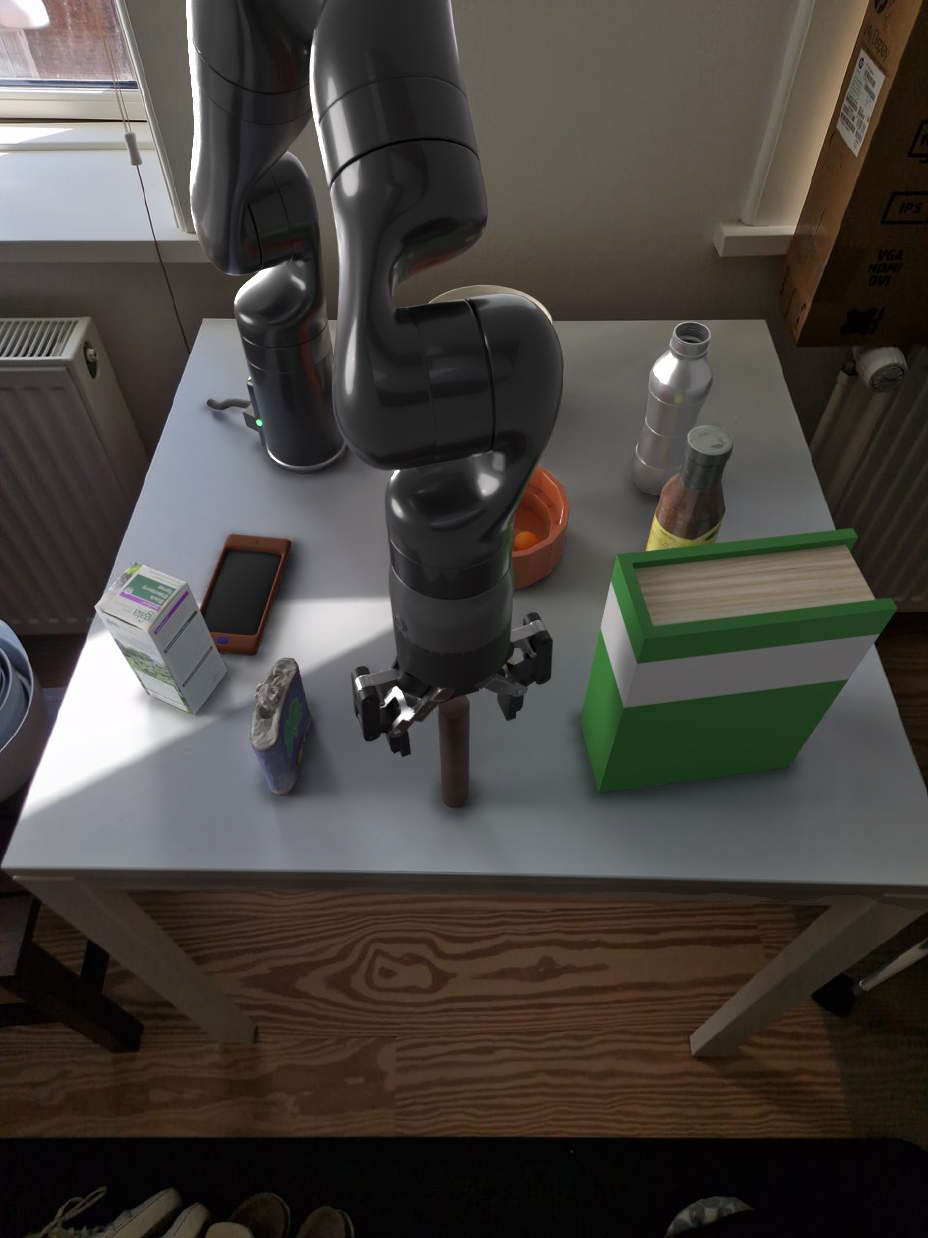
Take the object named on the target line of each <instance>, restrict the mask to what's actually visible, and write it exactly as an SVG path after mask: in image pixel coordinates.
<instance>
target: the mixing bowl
mask: <svg viewBox="0 0 928 1238" xmlns="http://www.w3.org/2000/svg"><path fill="white" fill-rule="evenodd" d="M570 509H571V504H570V500H569V497H568V495H567V492H566V489H565V487H564V485H563V484H562V483H561V482H560V481H559V480H558V479H557V478H556V476H554V475H553V474H552V473H551V472H550V471H549V470H548V469H547V468H544V467H542V466H540V465H539V464H538V465H537V467H536V469H535V471H534V473H533V475H532V477H531V479H530V481H529V484H528V486H527V488H526V490H525V492H524V495H523V497H522V499H521V502H520V504H519V506H518V508H517V510H516V512H515V520H514V529H513V544H512V561H513V567H514V583H515V590H516V589H523V588H526V587H528V586H530V585H532V584H534V583H536V582H538V581H540V580H542V579H544V578H545V577H547V576H549V575H550V573H551V572H552V571H553V570H554V568H555V567H556V566H557V565H558V564H559V562H560V561H561V560H562V558H563V554H564V549H565V543H566V537H567V530H568V524H569V518H570V512H571V511H570ZM524 531H528V532H531V533H533V534H534V535H535V536H536V537H537V539H538V544H537V545H535V546H533V547H531V548H529V549H527V550H522V551H516V550H515V548H514V539H515V537H516V536H517V535H518V534H519V533H521V532H524Z"/></svg>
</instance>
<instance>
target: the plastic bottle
mask: <svg viewBox="0 0 928 1238" xmlns="http://www.w3.org/2000/svg"><path fill="white" fill-rule="evenodd" d="M711 335H712V334H711V330H710V329H709V328H708V327H707V326H706V325H705V324H702V323H700V322H697V321H684V322H680V323H678V324H677V325H675V327H674V329H673V332H672V337H671V338H670V339H669V340H670V341H669V344H668V350H665V351H664V352H663V353H662V354H661V355H660V356H659V357H657V359H656V360H655V362H654V363H653V366H652V367H651V368H650V371H649V377H648V391H647V406H646V412H645V418H644V423H643V427H642V430H641V433H640V436H639V440H638V442H637V444H636V446H635V448H634V449H633V452H632V455H631V457H630V461H629V466H630V468H629V470H630V471H629V476H630V479H631V481H632V482H633V483H634V485H635V486H636V487H637V488H638V490H640V491H642V492H643V493H645V494H648V495H652V496H660V495H661V492H662V490H663V487H664V486H665V484H666V483H667V482H668V480H670V478H672V477H673V476H674V475H676V474H677V473H679V468H680V466H681V465H682V462H683V458H684V455H685V452H684V445H685V442H686V439H687V436H688V433H689V432H690V431H691V430H692V429H693V428H695V426H696V423H697V420H698V418H699V415H700V413H701V410H702V408H703V406H704V404H705V401H706V400H707V397H708V396H709V394H710V391H711V388H712V387H713V381H714V380H713V379H714V377H713V376H714V375H713V368H712V366H711V364H710V361H709V359H708V357H707V355H708V352H709V347H710V345H709V344H710V341H711Z"/></svg>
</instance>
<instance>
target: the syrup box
mask: <svg viewBox="0 0 928 1238" xmlns="http://www.w3.org/2000/svg"><path fill="white" fill-rule="evenodd" d="M94 608H95V612H96V613H97V614H98V616H99V617H100V619H101V621H102V622H103V625H104V626H105V628H106V629H107V631H108V633H109V634H110V636H111V637H112V639H113V640H114V642H115V644H116V646H117V647H118V649H119V650H120V652H121V653H122V655H123V657H124V659H125V661H126V662H127V664H128V665H129V667H130V668H131V670H132V672H133V673H134V675H135V676H136V678H137V680H138V681H139V684H141V687H142V688H143V690H144V691H145V693H146V695H148V696H149V697H152V698H154V699H156V700H159V701H161V702H163V703H165V704H167V705H170V706H172V707H174V708H176V709H179V710H181V711H183V712H186V713H188V714H189V715H192V716H194V715H196V714H197V713H198V712H199V710H200V709H201V708H202V706H204V704H205V702H206V701H207V700H208V698H209V697H210V696H211V694H212V693H213V692H214V690H215V689H216V688H217V686H218V685H219V683H220V682H221V681H222V679H224V677H225V675H226V674H227V668H226V666H225V664H224V662H223V659H222V657H221V654H220V653H219V652H218V650H217V648H216V646H215V644H214V641H213V639H212V637H211V635H210V632H209V630H208V628H207V626H206V623H205V621H204V619H203V616H202V614H201V612H200V607H199V605H198V603H197V600H196V598H195V596H194V594H193V591H192V589H191V587H190V585H189V583H188V582H187V581H183V580H180V579H179V578H176V577H174V576H171V575H169V574H166V573H164V572H161V571H159V570H157V569H154V568H152V567H150V566H147V565H144V564H142V563H140V562H138V561H134V562H133V563H132V564H130V565H129V567H128V568H127V569H126V570H125V571H124V572H123V573H121V575H120V576H118V577H117V579H116V580H115V581H114V582H113V583H112V585H110V587H109V588H108V589H107V591H106V592H105V593H104V594H103V595H102V596H101V598H100V599H99V600H98V602H97V603H96V604H95V605H94Z"/></svg>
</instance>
